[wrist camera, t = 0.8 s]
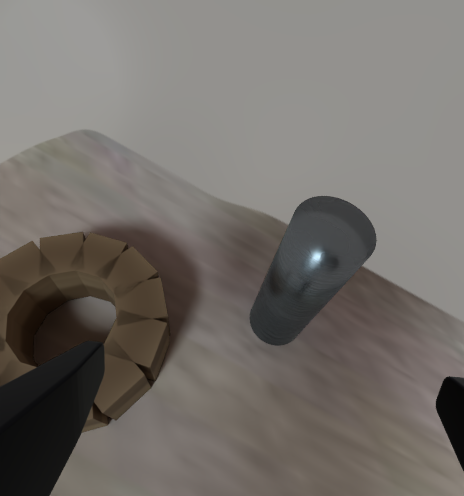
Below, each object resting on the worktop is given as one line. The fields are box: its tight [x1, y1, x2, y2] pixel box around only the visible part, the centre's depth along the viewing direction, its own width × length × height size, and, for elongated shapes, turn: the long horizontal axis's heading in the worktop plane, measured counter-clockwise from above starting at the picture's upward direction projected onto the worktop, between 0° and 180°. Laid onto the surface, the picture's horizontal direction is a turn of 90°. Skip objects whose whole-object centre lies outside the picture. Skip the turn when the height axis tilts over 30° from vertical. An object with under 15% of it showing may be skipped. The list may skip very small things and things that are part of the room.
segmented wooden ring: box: [0, 232, 170, 432], centre depth 21 cm, size 12×12×4 cm
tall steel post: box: [250, 196, 376, 346], centre depth 20 cm, size 4×4×12 cm
